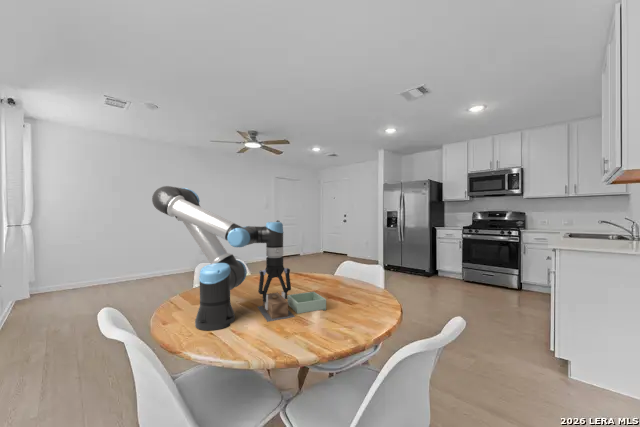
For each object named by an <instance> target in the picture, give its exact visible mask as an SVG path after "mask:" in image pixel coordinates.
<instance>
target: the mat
mask: <svg viewBox="0 0 640 427" xmlns="http://www.w3.org/2000/svg"><path fill="white" fill-rule="evenodd" d="M256 307H257V309H258V311H259V312H260V314H262V316H263V318H264V319H265V320H266V322H267V323H268V322H273V321H275V322H276V321H280V320H286V319H291V318H296V316H295V315H294V314H293V313H292V311H290V309H288V316H286V317H281V318H275V319H272V318H271V317H270V315H269V314H268V313H267V311H266V310H265V309H264V307H263V305H258V306H257V305H256Z"/></svg>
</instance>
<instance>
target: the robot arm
mask: <svg viewBox="0 0 640 427" xmlns="http://www.w3.org/2000/svg"><path fill="white" fill-rule="evenodd" d="M151 202H152V205H153V206H154V208H155V210H157V211H159V212H161V213H163V214H164V215H166V216H169V217H172V218H173V217H175V219H176V220H177V221H180V222H182V223H183V224H184V226H185V227H186V229H187V230H188V231H189V233H190V235H191V237H192V238H193V239H194V241H195V242H196V243H197V245H198V247H199V248H200V249H201V251H202V252H203V255H204V256H205V257H206V259H207V260H208V261H209V263H210V264H207V265H204V266H203V267H202V268H201V269H200V271H199V278H198V280H199V308H198V310H197V314H196V316H195V320H194V327H195V328H197V329H198V330H200V331H215V330H221V329H224V328H227V327H229V326H231V324H232V323H234V322H235V319H236V316H235V314H236V313H235V312H234V309H233V305H232V303H231V291H232V290H233V289H235V288H237V287H239V285H241V284H242V283H243V282H244V281H245V279H246V277H247V273H248V272H247V266H246V265H245V263H243V261H241V260H238V259H237V258H236V257H235V256H234V254H233V253H229V252H227V250H226V248H225V247H224V245H223V244H222V243H221V241H220V239H219V238H221V239H223V240H225V241H227V242H228V244H229V245H230V246H232V247H234V248H244V247H246V246H249V245H252V244H265V250H266V252H265V254H266V261H265V262H266V264H265V265H266V267H265V269H263V270H259V284H258V293H259V294H260V295H262V302H265V309H266V310H268V294H269V293H268V290H269V288H270V284H271V282H272V280H273V279H274V278H278V281H279V283H280V285H281V289H282V291H281V296H282V297H283V298H284V299H285V300H287V295H288V292H289V291H292V286H291V277H290V273H291V269H290V268H289V267H286V268H285V266H284V225H283V224H284V223H282V222H280V221H268V222H266V223H265V225H264V226H255V225H254V226H250V225H248V226H241V225H240V224H236V223H235V222H232V221H230V220H228V219H226V218H224V217H222V216H221V215H220V216H219V215H217V214H216V213H213V212H212V211H209V210H207V209H205V208H203V207H201V205H200V198H199V196H198V194H197V193H196V192H195V191H194V190H192V189H189V188H187V187H176V186H169V185H163V186H161V187H159V188H157V189H156V190H155V191H154V192H153V194H152V199H151ZM218 237H219V238H218ZM283 273H285V280H284V278H283V275H282V274H283ZM266 274H267V278H266V281H265V275H266ZM264 281H265V284H264ZM284 281H285V282H284Z"/></svg>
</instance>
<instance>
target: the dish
mask: <svg viewBox="0 0 640 427" xmlns="http://www.w3.org/2000/svg"><path fill="white" fill-rule="evenodd" d="M286 301H287V302H288V307H289V308H290V309H292V310H293V311H294V312H295V313H296V314H297V315H298V314H299V315H300V314H304V313H310V312H317V311H327V298H325V297H323V296H322V295H320V294H318V293H317V292H315V291H307V292H302V293H301V292H300V293H292V294H287V299H286Z"/></svg>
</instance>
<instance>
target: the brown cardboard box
mask: <svg viewBox="0 0 640 427" xmlns="http://www.w3.org/2000/svg"><path fill="white" fill-rule="evenodd" d="M267 294H268V310H266V309H265V302H263V301H262V302H263V303H262V306H263V307H264V309H265V310H266V311H267V313H268V314H269V315H270V317H271V318H272V319H275V318H281V317H286V316H288V310H289V305H288V302H287V299H284V298H283V297H282V294H280V293H279V292H270V293H267Z"/></svg>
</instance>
